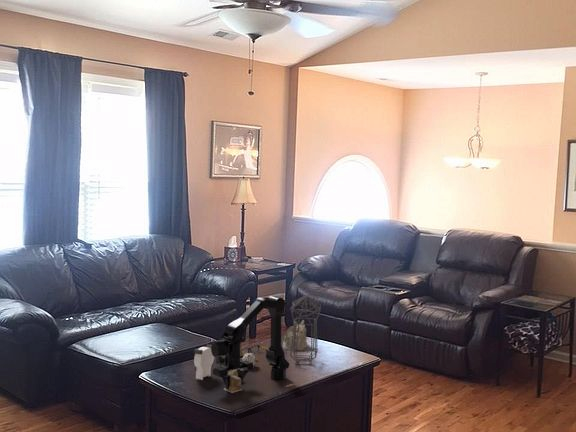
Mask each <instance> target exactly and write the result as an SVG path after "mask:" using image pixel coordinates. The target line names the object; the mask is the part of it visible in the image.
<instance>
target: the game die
mask: <svg viewBox="0 0 576 432" xmlns="http://www.w3.org/2000/svg"><path fill="white" fill-rule="evenodd" d="M245 352H246V351H244V353H243V356H242V358H241V359H240V362H241V361H245V360H247V361H249V362H252V363H253V365H254V367H255V366H256V363H257V362H258V360H257V359H256V357H255V356H256V355H255V354H256V352H252V353H251V352H249V353H248V352H246V353H245ZM258 363H259V362H258Z"/></svg>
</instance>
